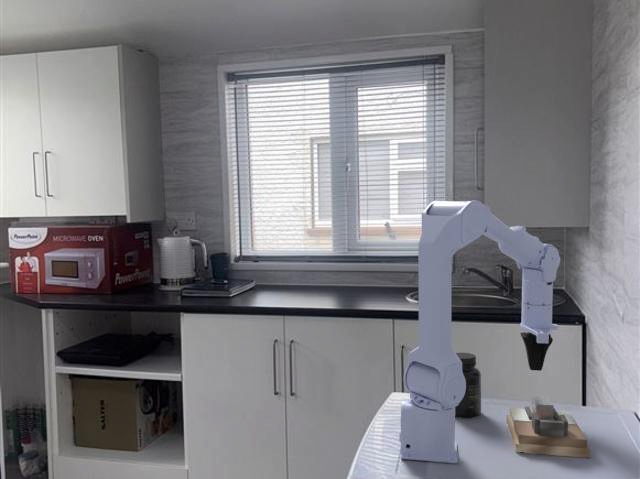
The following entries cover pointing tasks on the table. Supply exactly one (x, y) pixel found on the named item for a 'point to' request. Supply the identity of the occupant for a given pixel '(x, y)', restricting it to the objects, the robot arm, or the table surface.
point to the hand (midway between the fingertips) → (535, 369)
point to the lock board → (547, 434)
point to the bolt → (542, 407)
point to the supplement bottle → (470, 388)
